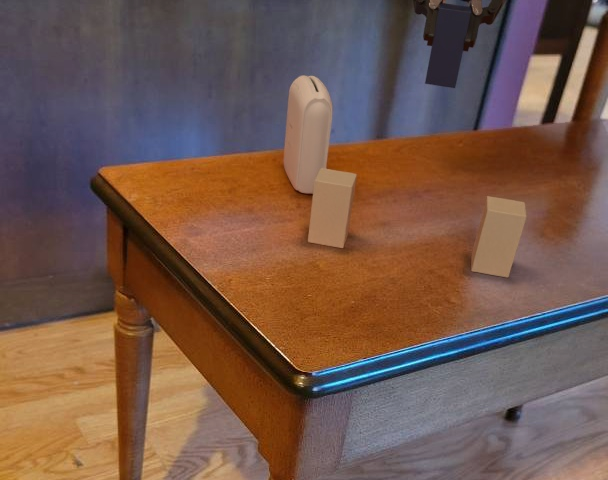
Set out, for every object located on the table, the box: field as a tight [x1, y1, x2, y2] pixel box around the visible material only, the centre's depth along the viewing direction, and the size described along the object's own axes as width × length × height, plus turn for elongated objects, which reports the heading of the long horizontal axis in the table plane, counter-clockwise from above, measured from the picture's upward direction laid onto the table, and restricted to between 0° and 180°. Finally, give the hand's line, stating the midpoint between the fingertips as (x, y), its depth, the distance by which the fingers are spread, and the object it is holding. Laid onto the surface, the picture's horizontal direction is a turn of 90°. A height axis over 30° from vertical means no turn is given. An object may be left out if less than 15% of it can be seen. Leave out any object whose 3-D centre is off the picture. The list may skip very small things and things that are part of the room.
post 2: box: [470, 195, 527, 279], centre depth 79 cm, size 4×4×7 cm
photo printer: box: [283, 75, 334, 195], centre depth 92 cm, size 10×4×12 cm, turn 11°
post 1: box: [307, 168, 358, 249], centre depth 80 cm, size 4×4×7 cm
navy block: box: [424, 2, 471, 89], centre depth 96 cm, size 4×4×9 cm
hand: (448, 44), depth 94 cm, fingers closed on navy block, 4 cm apart
